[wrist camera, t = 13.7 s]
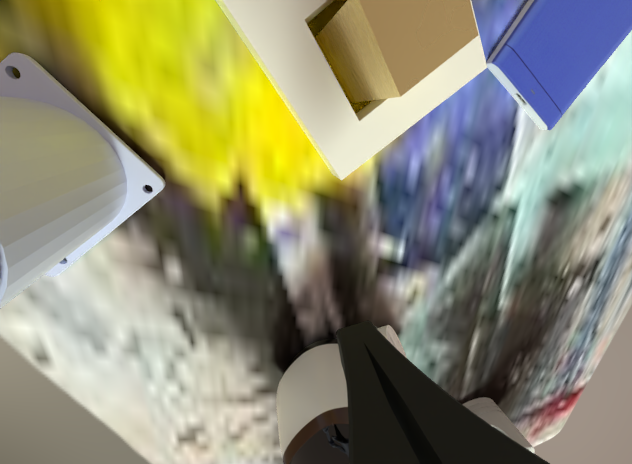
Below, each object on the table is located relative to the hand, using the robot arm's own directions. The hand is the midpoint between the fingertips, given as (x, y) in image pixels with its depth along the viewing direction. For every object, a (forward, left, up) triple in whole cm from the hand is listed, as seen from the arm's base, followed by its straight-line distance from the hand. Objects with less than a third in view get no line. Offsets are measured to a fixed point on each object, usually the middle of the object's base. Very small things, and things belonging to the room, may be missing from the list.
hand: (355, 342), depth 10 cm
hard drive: (+24, +1, -11) cm, 27 cm away
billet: (+10, +7, -11) cm, 16 cm away
